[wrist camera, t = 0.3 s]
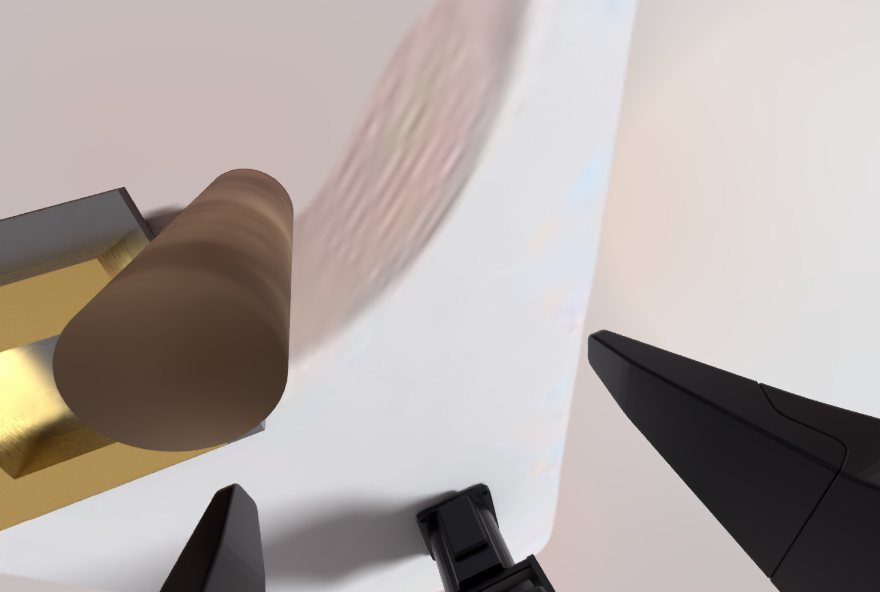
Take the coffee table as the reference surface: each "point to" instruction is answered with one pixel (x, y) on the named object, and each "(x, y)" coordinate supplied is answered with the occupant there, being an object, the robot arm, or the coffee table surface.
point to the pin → (189, 325)
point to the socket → (32, 347)
